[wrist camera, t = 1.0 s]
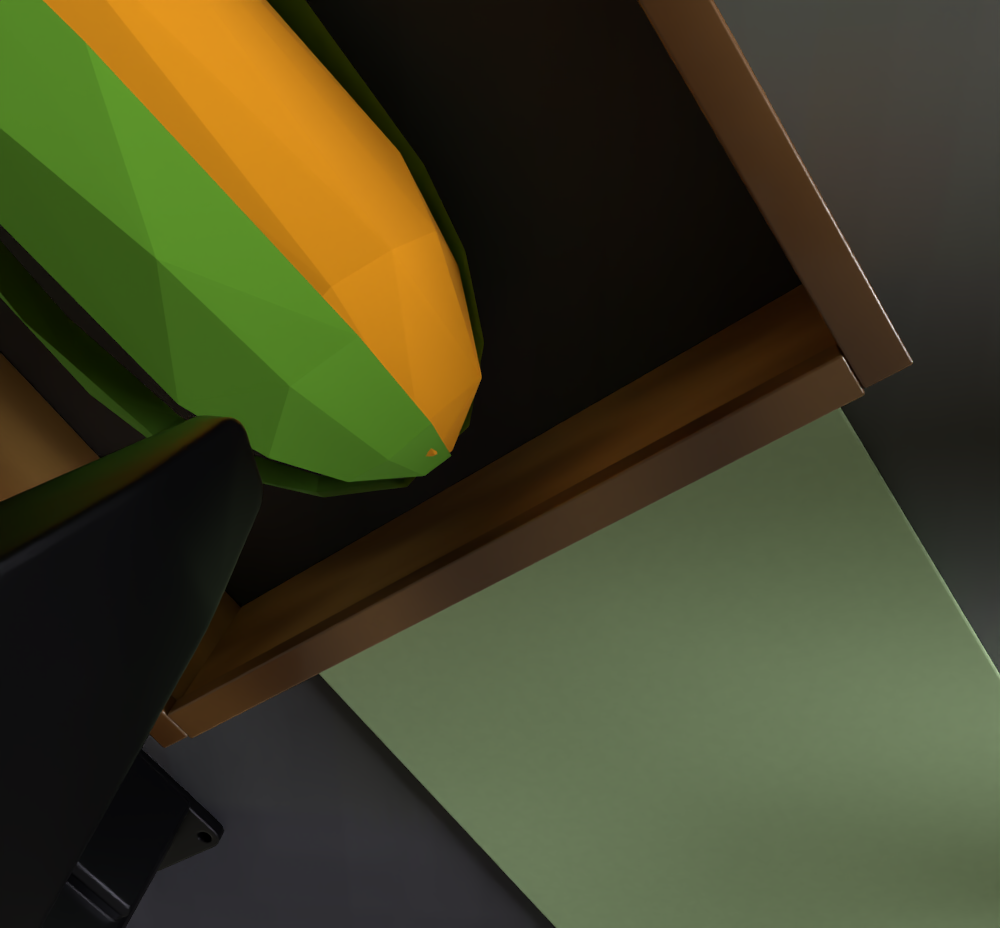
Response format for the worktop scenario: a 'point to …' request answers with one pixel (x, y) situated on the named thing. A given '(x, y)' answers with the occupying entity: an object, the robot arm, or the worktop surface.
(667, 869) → the mat
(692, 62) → the wooden tray
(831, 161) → the worktop surface
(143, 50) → the corn
